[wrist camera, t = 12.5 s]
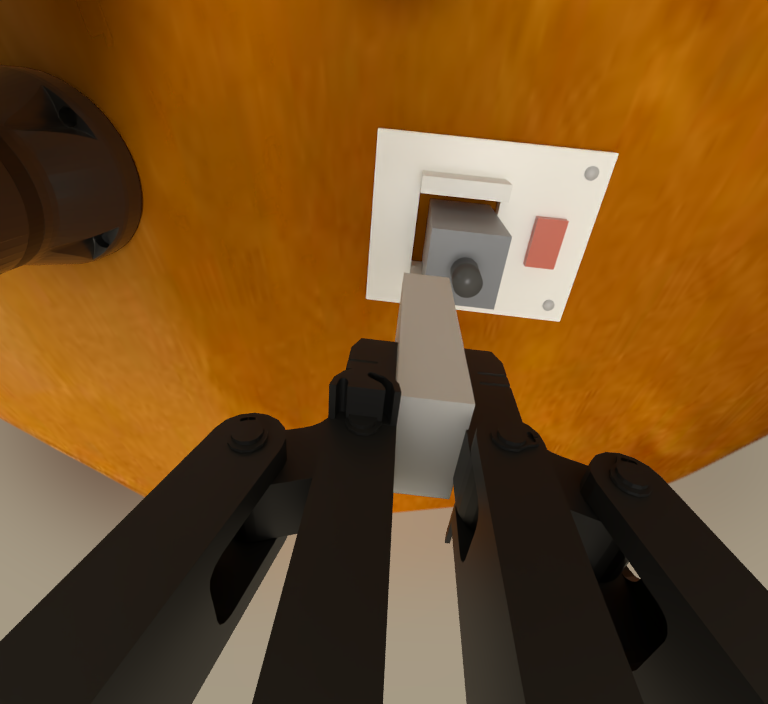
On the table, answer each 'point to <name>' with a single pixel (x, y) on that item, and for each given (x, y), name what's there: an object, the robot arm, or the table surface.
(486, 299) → the plug
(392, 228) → the socket
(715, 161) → the table surface
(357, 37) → the table surface
